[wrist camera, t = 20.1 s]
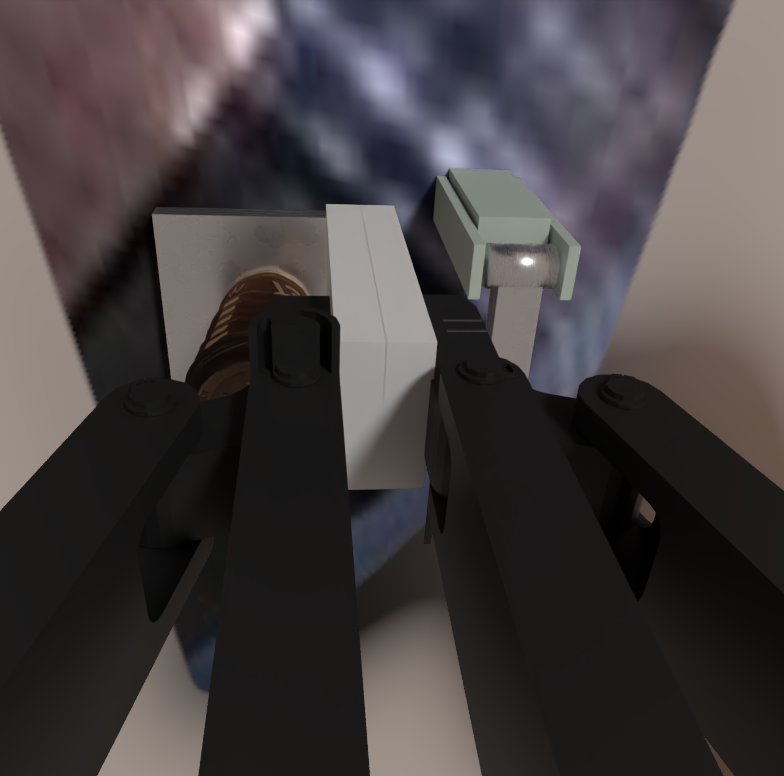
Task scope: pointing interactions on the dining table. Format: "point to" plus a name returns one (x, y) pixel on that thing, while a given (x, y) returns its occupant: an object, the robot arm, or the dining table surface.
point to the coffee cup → (235, 335)
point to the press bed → (227, 263)
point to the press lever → (517, 295)
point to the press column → (496, 224)
